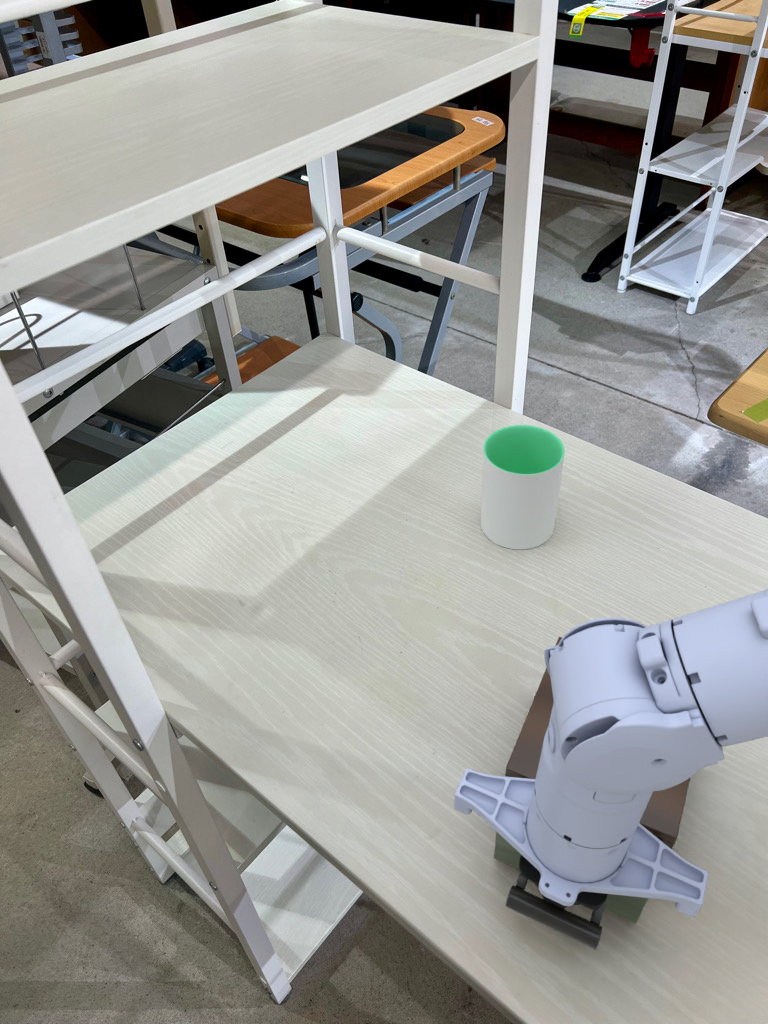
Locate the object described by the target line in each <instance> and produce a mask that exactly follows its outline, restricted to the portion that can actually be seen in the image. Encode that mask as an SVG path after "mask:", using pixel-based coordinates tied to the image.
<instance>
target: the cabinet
mask: <svg viewBox="0 0 768 1024" xmlns="http://www.w3.org/2000/svg"><path fill="white" fill-rule="evenodd" d="M562 637H563V636H558V638H557V639H556V643H555V645H554V646H556V645H558V644H559V642H560V640H561V639H562ZM541 677H542V678H541V680H540V682H539V685H538V688H537V690H536V692H535V695H534V698H533V700H532V702H531V705H530V707H529V710H528V711H527V715H526V717H525V720H524V722H523V725H522V727H521V730H520V732H519V734H518V737H517V740H516V742H515V744H514V746H513V750H512V752H511V754H510V756H509V759H508V762H507V765H506V767H505V772H504V776H505V777H516V778H528V779H536V775H537V770H538V765H539V761H540V756H541V751H542V747H543V741H544V737H545V734H546V731H547V728H548V726H549V721H550V717H551V712H552V707H553V703H554V700H553V692H552V685H551V678H550V675H549V673H548V670H547V668H545V670H544V673H543V675H542V676H541ZM690 781H691V777H690V778H688V779H687V780H685V781H684V782H682V783H680V784H678V785H676V786H673V787H671V788H668V789H665V790H659V791H653V793H652V795H651V798H650V800H649V802H648V804H647V807H646V809H645V811H644V813H643V815H642V818H641V820H640V822H639V823H640V824H641V825H642V826H643V827H645V828H646V829H647V830H648V831H649V832H651V833H652V834H653V835H654V836H656V837H657V838H658V839H659V840H661V841H662V842H663V843H664V844H665V845H667V846H668V847H669V848H670V849H672V850H673V848H674V847H675V844H676V842H677V840H678V837H679V831H680V828H681V827H680V826H681V822H682V817H683V813H684V809H685V804H686V799H687V794H688V790H689V786H690Z"/></svg>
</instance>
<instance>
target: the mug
mask: <svg viewBox="0 0 768 1024" xmlns="http://www.w3.org/2000/svg"><path fill="white" fill-rule="evenodd" d="M482 449H483V450H482V452H483V453H482V476H481V501H480V528H481V530H482V532H483V534H484V536H485V537H486V538H487V539H488V540H489V541H491V542H492V543H494V544H495V545H498V546H500V547H503V548H506V549H511V550H530V549H534V548H537V547H539V546H542V545H543V544H545V543H547V541H549V540H550V539H551V538H552V537H553V534H554V533H555V527H556V519H557V514H558V513H557V512H558V507H559V505H558V504H559V497H560V489H561V483H562V476H563V469H564V460H565V454H566V453H565V452H566V449H565V446H564V443H563V442H562V440H561V439H560V438H559V437H558V436H557V435H556V434H555V433H553V432H552V431H549V430H547V429H545V428H542V427H539V426H536V425H530V424H513V425H510V426H509V425H508V426H504V427H501V428H499V429H497V430H495V431H493V432H492V433H491V434H489V436H488V437H487V438H485V441H484V444H483V447H482Z"/></svg>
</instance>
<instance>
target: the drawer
mask: <svg viewBox="0 0 768 1024" xmlns="http://www.w3.org/2000/svg"><path fill="white" fill-rule="evenodd" d="M495 832H496V833H495V840H494V841H495V842H494V852H493V859H494V860H497V861H498V862H501V863H503V864H505V865H507V866H509V867H511V868H514V869H516V870H518V871H520V870H519V860H520V856H521V854H520V853H519V852H518V851H517V850H516V849H515V848H514V847H513V846H512V845H511V844H509V843H508V842H507V841H506V840H505V839H504V838H503V837H502V836H501V835H500V834H499V833H498V832H497V831H495ZM528 882H529V880H528V879H526V878H524V877H523V876H521V875H520V873H519V875H518V877H517V880H516V883H515V885H514V884H512V885H511V887H510V889H509V892H508V895H507V898H506V902H505V907H506V908H508V909H510V910H512V911H514V912H516V913H518V914H520V915H522V916H524V917H526V918H528V919H531V920H532V921H534V922H537V923H539V924H541V925H543V926H545V927H546V928H549V929H551V930H553V931H556V932H557V933H560V934H562V935H564V936H566V937H568V938H570V939H572V940H574V941H576V942H578V943H580V944H583V945H585V946H587V947H588V948H591V949H592V950H595V951H596V950H597V949H598V946H599V943H600V939H601V936H602V932H603V926H601V922H602V918H603V914H604V910H606V911H607V912H610V913H612V914H614V915H616V916H618V917H621V918H623V919H625V920H627V921H629V922H631V923H633V924H637V923H638V922H639V921H638V920H639V919H640V917H641V915H642V913H643V911H644V908H645V907H646V904H647V902H648V900H649V898H643V897H634V896H624V895H614V894H608V895H607V898H606V900H605V902H604V904H603V905H602V906H601V907H600V908H599V909H598V910H596V911H595V910H592V912H591V916H590V920H588V919H587V918H585V917H582V916H580V915H578V914H576V913H574V912H571V911H569V910H567V909H566V908H565V909H561V908H559V907H557V906H555V905H553V904H550V903H548V902H546V901H544V899H543V897H540V896H538V895H536V894H533V893H531V892H529V891H527V890H526V887H527V884H528Z"/></svg>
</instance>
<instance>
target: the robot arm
mask: <svg viewBox="0 0 768 1024" xmlns="http://www.w3.org/2000/svg"><path fill="white" fill-rule="evenodd" d="M561 637H562V639H561V640H560V642H559V644H558V645H556V644H555V645H556V646H555V645H554V646H547V647H546V648H545V649H544V653H543V654H544V655H543V656H544V663H545V667H546V668H547V670H548V673H549V675H550V678H551V685H552V692H553V700H554V703H553V707H552V712H551V717H550V721H549V726H548V728H547V731H546V734H545V737H544V741H543V747H542V751H541V756H540V761H539V765H538V770H537V775H536V779H528V778H516V777H505V775H504V776H503V775H494V774H487V773H484V772H479V771H477V770H475V769H471V768H469V767H466V768H465V770H464V772H463V775H462V776H461V779H460V782H459V784H458V785H457V788H456V790H455V793H454V799H453V800H454V801H453V809H454V810H455V811H457V812H460V813H462V814H464V815H470V814H471V813H472V812H474V813H475V814H476V815H478V816H479V817H480V818H481V819H482V820H483V821H484V822H485V823H487V824H488V825H489V826H490V827H491V828H492V829H493V830H494V831H495V832H496V831H497V832H498V833H499V834H500V835H501V836H502V837H503V838H504V839H505V840H506V841H507V842H508V843H509V844H511V845H512V846H513V847H514V848H515V849H516V850H517V851H518V852H519V853H520V854H521V856H520V860H519V870H518V871H519V874H520V875H521V876H523V877H524V878H526V879H528V882H529V881H530V882H531V883H533V884H534V885H535V886H536V888H538V890H539V893H540V894H541V896H542V897H541V898H542V899H544V901H546V902H548V903H550V904H553V905H555V906H557V907H559V908H561V909H565V910H566V909H567V908H569V907H572V906H583V907H585V908H586V909H589V910H592V911H593V910H595V911H596V910H598V909H599V908H600V907H601V906H602V905H603V904H604V902H605V900H606V898H607V895H608V894H614V895H624V896H634V897H643V898H648V899H654V900H663V901H670V902H675V903H674V907H675V909H676V910H677V911H678V912H680V913H682V914H684V915H686V916H688V917H690V918H693V919H694V918H695V917H696V915H697V914H698V912H700V910H701V908H702V907H703V906H704V902H705V896H706V889H707V884H708V878H709V871H708V870H706V869H703V868H701V867H699V866H697V865H695V864H694V863H692V862H690V861H688V860H687V859H685V858H684V857H682V856H681V855H679V853H677V852H676V851H674V850H673V848H672V849H670V848H669V847H668V846H667V845H665V844H664V843H663V842H662V841H661V840H659V839H658V838H657V837H656V836H654V835H653V834H652V833H651V832H649V831H648V830H647V829H646V828H645V827H643V826H642V825H641V824H640V823H639V822H640V820H641V818H642V815H643V813H644V811H645V809H646V807H647V804H648V802H649V800H650V798H651V795H652V793H653V791H659V790H665V789H668V788H671V787H673V786H676V785H678V784H680V783H682V782H684V781H685V780H687V779H688V778H690V779H691V777H692V776H694V775H695V774H696V773H697V772H698V771H700V770H702V769H704V768H706V767H709V766H714V765H718V762H720V761H723V760H725V758H726V757H725V753H724V747H729V746H733V745H738V744H742V743H746V742H751V741H755V740H759V739H763V738H768V588H767V589H764V590H761V591H757V592H754V593H751V594H747V595H745V596H740V597H738V598H734V599H732V600H729V601H725V602H722V603H719V604H715V605H712V606H710V607H706V608H702V609H700V610H696V611H694V612H690V613H687V614H683V615H680V616H678V617H674V618H670V619H667V620H664V621H662V622H658V623H655V624H652V625H648V626H646V625H645V624H644V623H641V622H639V621H637V620H634V619H630V618H624V617H601V618H596V619H592V620H588V621H585V622H583V623H580V624H578V625H576V626H574V627H573V628H571V629H570V630H569V631H567V632H566V633H565V634H564V635H563V636H561ZM546 668H545V669H546Z"/></svg>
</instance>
